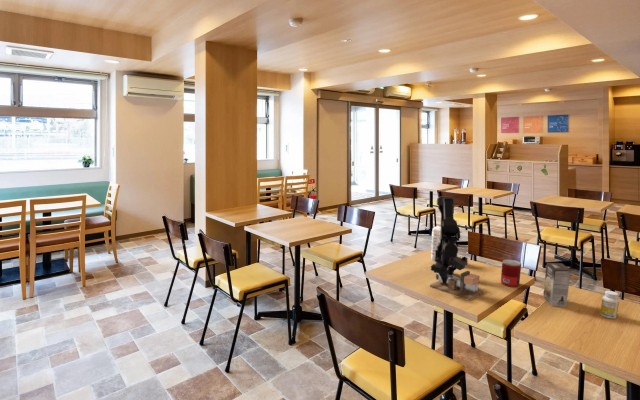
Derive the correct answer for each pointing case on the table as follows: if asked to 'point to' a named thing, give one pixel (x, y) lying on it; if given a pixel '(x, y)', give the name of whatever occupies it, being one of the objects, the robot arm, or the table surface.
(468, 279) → the block
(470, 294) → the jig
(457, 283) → the shaft
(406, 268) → the table surface
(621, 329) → the table surface
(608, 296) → the supplement bottle
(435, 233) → the juice carton
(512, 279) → the canned food
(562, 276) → the coffee box
